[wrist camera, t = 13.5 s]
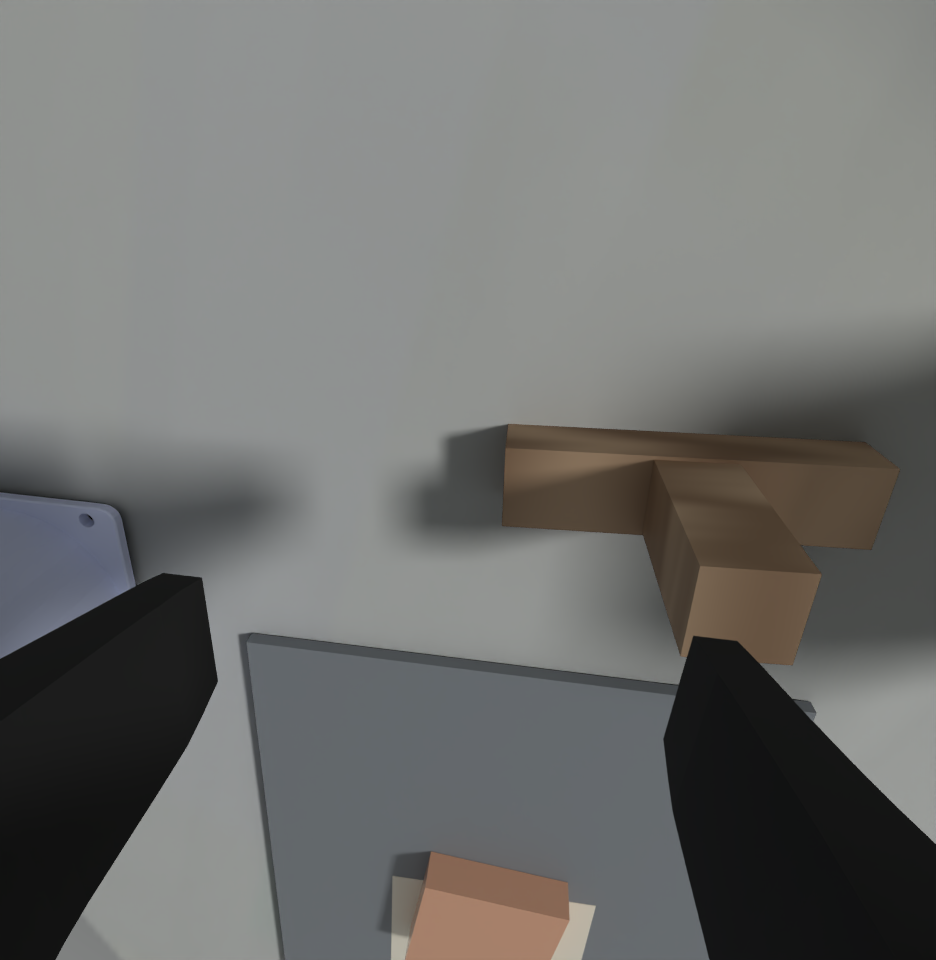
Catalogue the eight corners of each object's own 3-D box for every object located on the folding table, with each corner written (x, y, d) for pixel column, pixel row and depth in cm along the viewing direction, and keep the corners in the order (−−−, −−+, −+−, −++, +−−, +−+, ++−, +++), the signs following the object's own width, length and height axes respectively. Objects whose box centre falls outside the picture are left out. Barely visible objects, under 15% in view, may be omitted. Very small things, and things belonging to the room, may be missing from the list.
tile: (410, 928, 29) (403, 964, 27) (431, 851, 26) (425, 887, 25) (534, 956, 29) (534, 994, 27) (568, 882, 26) (569, 920, 25)
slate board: (290, 960, 32) (286, 972, 32) (252, 633, 22) (246, 642, 22) (674, 1021, 31) (676, 1034, 30) (810, 701, 21) (816, 713, 21)
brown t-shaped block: (505, 494, 19) (489, 644, 13) (508, 422, 18) (493, 547, 12) (838, 513, 18) (997, 686, 12) (862, 439, 17) (1050, 585, 11)
